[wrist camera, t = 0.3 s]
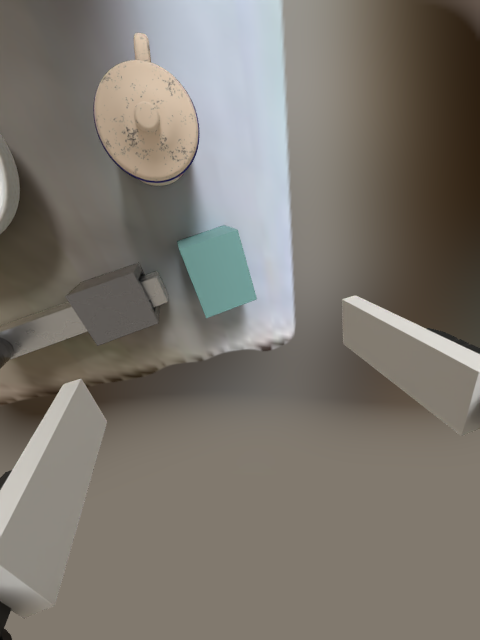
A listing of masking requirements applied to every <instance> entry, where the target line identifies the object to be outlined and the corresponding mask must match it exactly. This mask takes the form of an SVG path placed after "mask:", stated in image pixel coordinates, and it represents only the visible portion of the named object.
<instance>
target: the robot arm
mask: <svg viewBox="0 0 480 640" xmlns="http://www.w3.org/2000/svg"><path fill="white" fill-rule="evenodd" d="M342 309H343V310H342V312H343V344H344V345H346V346H347V347H348V348H350V349H351V350H352V351H353V352H355V353H356V354H357V355H359V356H360V357H361V358H362V359H364V360H365V361H366V362H367V363H369V364H370V365H371V366H373V367H374V368H375V369H376V370H378V371H379V372H380V373H382V374H383V375H384V376H385V377H387V378H388V379H389V380H391V381H392V382H393V383H394V384H396V385H397V386H398V387H399V388H401V389H402V390H403V391H404V392H406V393H407V394H408V395H410V396H411V397H412V398H413V399H415V400H416V401H417V402H419V403H420V404H421V405H422V406H424V407H425V408H426V409H428V410H429V411H430V412H431V413H433V414H434V415H435V416H437V417H438V418H439V419H440V420H442V421H443V422H444V423H445V424H447V425H448V426H449V427H451V428H452V429H453V430H454V431H456V432H457V433H458V434H459V435H461V436H463V435H465V434H468V433H470V432H473V431H475V430H477V429H480V348H478V347H476V346H474V345H469V344H468V343H467V342H465V341H463V340H461V339H460V340H458V339H457V338H456V337H454V336H452V335H450V334H447V333H445V332H442V331H438V330H434V329H430V328H427V329H425V328H423V327H421V326H419V325H417V324H415V323H412V322H410V321H408V320H406V319H404V318H402V317H400V316H398V315H395V314H393V313H391V312H389V311H387V310H385V309H383V308H381V307H379V306H377V305H374V304H372V303H370V302H368V301H366V300H364V299H362V298H360V297H358V296H352V297H348V298H345V299H342ZM106 425H107V421H106V419H105V417H104V415H103V414H102V412H101V410H100V409H99V407H98V406H97V404H96V403H95V400H94V399H93V397H92V395H91V394H90V392H89V391H88V389H87V387H86V385H85V384H84V382H83V381H82V379H78V380H75V381H72V382H68V383H65V384H63V386H62V387H61V389H60V391H59V392H58V394H57V396H56V398H55V399H54V401H53V403H52V404H51V406H50V408H49V409H48V411H47V413H46V414H45V416H44V418H43V419H42V421H41V423H40V425H39V426H38V428H37V429H36V431H35V433H34V435H33V436H32V438H31V440H30V441H29V443H28V445H27V446H26V448H25V450H24V452H23V453H22V455H21V457H20V458H19V460H18V461H17V463H16V465H15V467H14V468H13V470H11V471H8V472H5V474H4V475H3V476H2V477H1V478H0V640H12V638H11V635H10V634H9V633H8V632H7V630H6V629H4V626H5V624H6V621H7V619H8V616H9V614H10V611H13V612H15V613H16V614H18V615H19V616H21V617H22V618H27V617H29V616H31V615H34V614H36V613H39V612H41V611H43V610H46V609H48V608H51V607H53V606H55V603H56V599H57V596H58V592H59V588H60V585H61V581H62V578H63V575H64V571H65V568H66V564H67V561H68V557H69V554H70V550H71V547H72V543H73V540H74V536H75V533H76V529H77V526H78V522H79V519H80V515H81V512H82V508H83V505H84V501H85V498H86V494H87V491H88V487H89V484H90V480H91V477H92V474H93V470H94V467H95V463H96V459H97V456H98V453H99V448H100V446H101V442H102V439H103V435H104V432H105V428H106Z"/></svg>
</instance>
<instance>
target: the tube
mask: <svg viewBox="0 0 480 640" xmlns="http://www.w3.org/2000/svg"><path fill="white" fill-rule="evenodd" d="M139 281H140V283H141V285H142V288H143V290H144V292H145V294H146V296H147V298H148V300H149V302H150V304H151V306H152V308H153V307H156V306H159V305H161V304H164V303H167V302H168V293H167V291H166V289H165V286H164V284H163V282H162V280H161V277H160V275H159V273H158V271H155V272H152V273H150V274H147V275H144V276H141V277H139ZM84 332H87V329H86V328H85V326H84V325H83V323H82V321H81V320H80V318H79V317H78V315H77V314H76V312H75V311H74V309H73V308H72V306H71V305H70V303H69V302H67V303H64V304H61V305H58V306H55V307H52V308H50V309H47V310H44V311H41V312H38V313H35V314H32V315H30V316H27V317H24V318H21V319H18V320H15V321H12V322H10V323H7V324H4V325H1V326H0V368H1V367H2V366H3V365H5V364H6V363H7V362H8V361H9V360H10V359H13V358H16V357H19V356H21V355H24V354H27V353H30V352H32V351H35V350H38V349H41V348H43V347H46V346H49V345H52V344H54V343H57V342H60V341H63V340H65V339H68V338H71V337H73V336H76V335H79V334H82V333H84Z"/></svg>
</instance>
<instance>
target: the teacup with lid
mask: <svg viewBox="0 0 480 640" xmlns="http://www.w3.org/2000/svg"><path fill="white" fill-rule="evenodd" d="M134 50H135V59H136V60H131V61H126V62H122V63H120V64H118V65H116V66H114V67H113V68H111V69H110V70H109V71H108V72H107V73H106V74H105V76H104V77H103V78H102V80H101V81H100V83H99V85H98V88H97V90H96V94H95V98H94V109H93V110H94V121H95V126H96V130H97V133H98V136H99V139H100V141H101V143H102V145H103V147H104V149H105V150H106V152H107V153H108V155H109V156H110V158H111V159H112V160H113V161H114V162H115V163H116V164H117V165H118V166H119V167H120V168H121V169H122V170H123V171H125V172H126V173H128V174H129V175H131V176H133V177H135V178H137V179H138V180H140V181H142V182H144V183H146V184H149V185H154V186H164V185H168V184H171V183H173V182H175V181H176V180H178V179H179V178H180V177H181V176H182V175H183V173H184V172H185V171H186V170H187V169H188V168H189V166H190V165H191V163H192V162H193V160H194V158H195V155H196V153H197V149H198V144H199V123H198V118H197V113H196V110H195V107H194V105H193V102H192V100H191V98H190V96H189V95H188V93H187V91H186V90H185V89H184V87H183V86H182V85H181V83H180V82H179V81H178V80H177V79H176V78H175V77H174V76H173V75H172V74H170V73H169V72H168V71H166V70H165V69H163V68H162V67H160V66H158V65H156V64H153V63H151V58H150V49H149V41H148V38H147V36H146V35H145V34H142V33H136V34H135V35H134Z"/></svg>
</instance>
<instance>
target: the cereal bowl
mask: <svg viewBox="0 0 480 640" xmlns="http://www.w3.org/2000/svg"><path fill="white" fill-rule="evenodd" d="M19 196H20V184H19V177H18V172H17V167H16V165H15V161H14V159H13V156H12V154H11V152H10V149H9V148H8V145H7V143H6V142H5V140H4V138H3V136H2V135H1V133H0V234H1V233H2V232H3V231H4V230H6V228H7V226H8V225H9V224H10V223H11V222H12V219H13V218H14V216H15V214H16V210H17V208H18V203H19V199H20V198H19Z"/></svg>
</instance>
